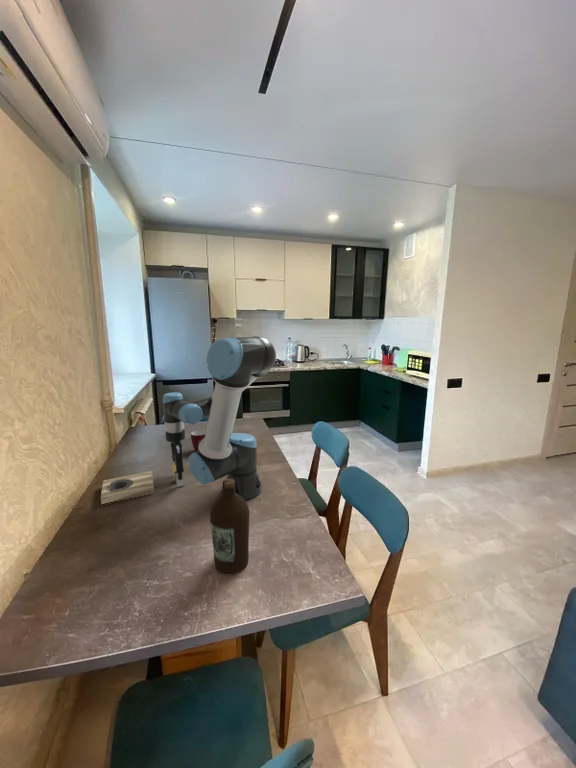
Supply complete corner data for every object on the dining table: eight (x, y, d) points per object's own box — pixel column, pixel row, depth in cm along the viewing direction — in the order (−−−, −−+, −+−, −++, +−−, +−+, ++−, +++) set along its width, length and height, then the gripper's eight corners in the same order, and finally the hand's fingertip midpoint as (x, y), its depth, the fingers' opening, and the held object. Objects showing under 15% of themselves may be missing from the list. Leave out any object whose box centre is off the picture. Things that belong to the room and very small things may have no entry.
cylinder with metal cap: (184, 481, 132) (183, 464, 130) (174, 484, 130) (173, 466, 128) (183, 477, 135) (181, 460, 133) (173, 479, 133) (171, 462, 132)
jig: (154, 493, 123) (153, 486, 122) (101, 505, 115) (100, 497, 114) (152, 477, 135) (151, 471, 134) (104, 487, 127) (103, 480, 127)
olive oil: (225, 544, 95) (222, 469, 90) (257, 554, 91) (255, 475, 86) (204, 570, 85) (199, 487, 80) (238, 582, 81) (235, 495, 76)
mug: (209, 454, 158) (208, 436, 156) (193, 457, 155) (191, 438, 153) (206, 446, 168) (205, 429, 166) (191, 449, 165) (190, 431, 163)
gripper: (189, 437, 120) (192, 490, 124) (180, 421, 139) (184, 467, 144) (168, 441, 117) (172, 495, 121) (162, 423, 136) (166, 471, 140)
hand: (178, 480), depth 132 cm, fingers open, 9 cm apart
